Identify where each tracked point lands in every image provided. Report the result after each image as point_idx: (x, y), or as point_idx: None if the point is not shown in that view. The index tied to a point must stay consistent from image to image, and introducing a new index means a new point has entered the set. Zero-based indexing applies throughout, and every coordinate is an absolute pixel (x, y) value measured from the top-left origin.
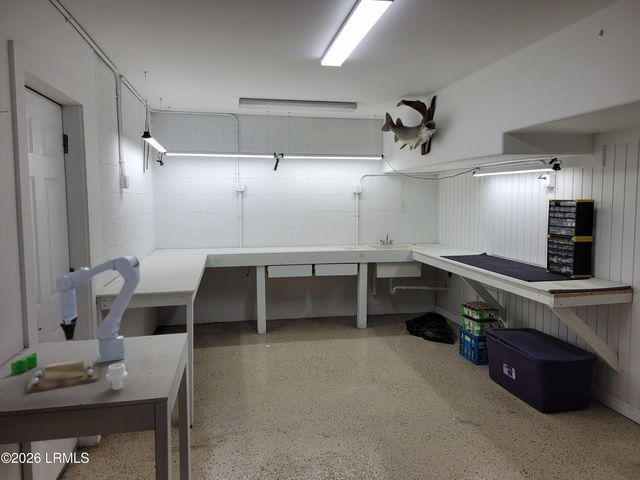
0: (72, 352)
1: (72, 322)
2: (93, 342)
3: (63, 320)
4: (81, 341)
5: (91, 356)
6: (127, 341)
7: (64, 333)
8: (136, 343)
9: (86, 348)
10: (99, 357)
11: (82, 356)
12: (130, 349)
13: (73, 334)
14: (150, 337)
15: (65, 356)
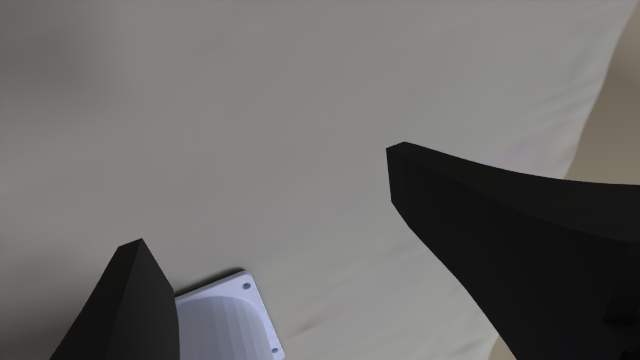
0: (401, 48)
1: (517, 322)
2: (546, 119)
3: (610, 254)
4: (612, 27)
5: (268, 219)
6: None
7: (62, 341)
8: (418, 334)
9: (449, 120)
10: (206, 293)
11: (283, 160)
12: (336, 352)
13: (392, 200)
14: (475, 346)
15: (319, 22)
